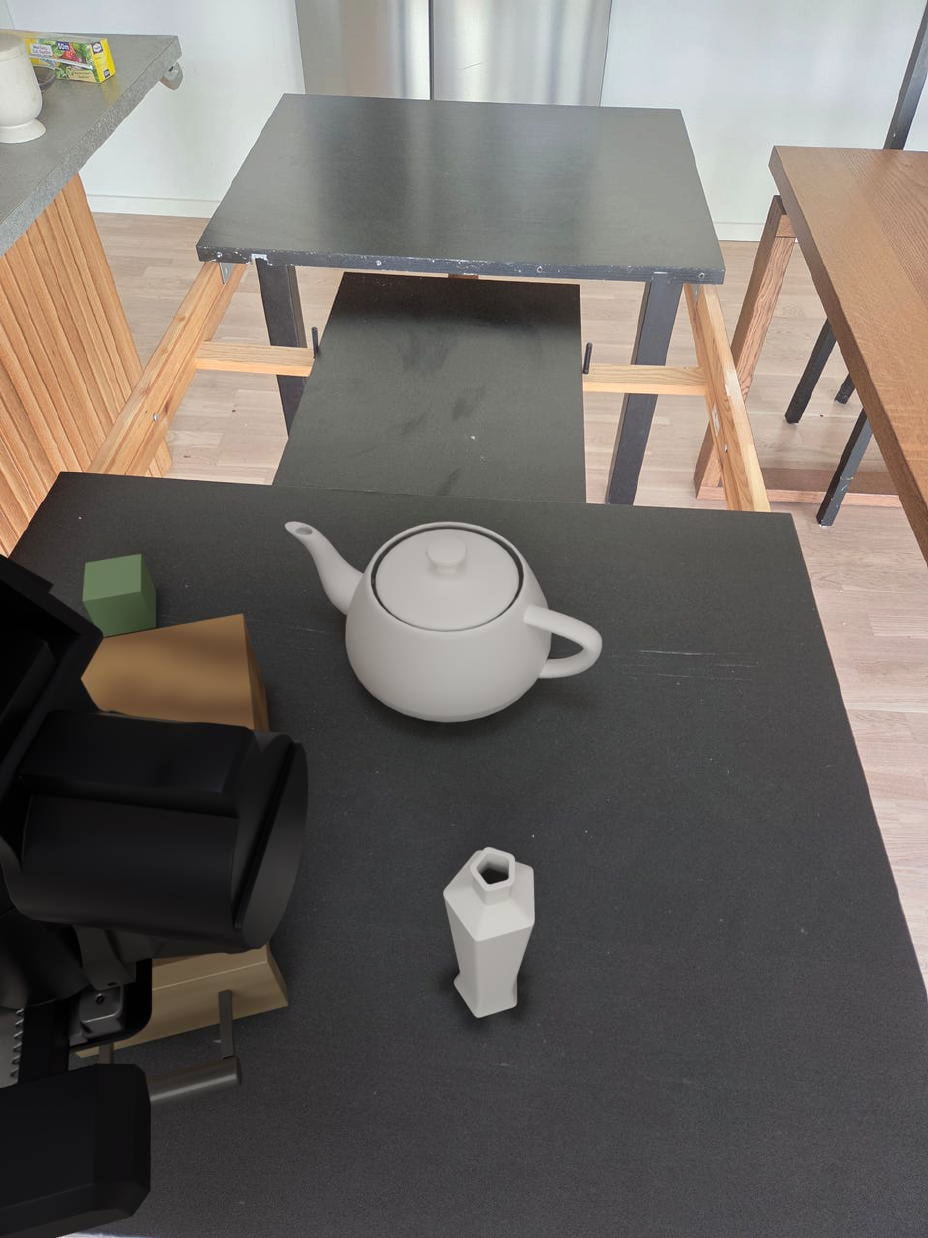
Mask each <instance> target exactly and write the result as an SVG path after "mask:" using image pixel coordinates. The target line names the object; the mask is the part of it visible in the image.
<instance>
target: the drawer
mask: <svg viewBox="0 0 928 1238" xmlns="http://www.w3.org/2000/svg"><path fill="white" fill-rule="evenodd" d="M270 946H271V945H270V940H269V941H268V943H266V944H265V945H264V946H263V947H262V948H261V949H254V950H249V951H247V952H244V953H239V954H227V953H214V954H204V955H193V956H183V957H172V958H162V959H152V1016H151V1019H150V1021H149V1023H148V1024H147V1026H146V1027H145V1028H144V1029H143V1030H141V1031H140V1032H139V1033H138V1034H136V1035H135V1036H133V1037H131V1038H129V1039H126V1040H123V1041H119V1042H115V1043H111V1044H107V1045H103V1046H99V1047H95V1048H91V1049H87V1050H83V1051H79V1052H75V1053H74V1054H76V1055H77V1056H78V1057H79V1058H80V1059H84V1058H88V1057H92V1056H96V1055H98V1058H97V1060H98V1061H97V1063H107V1064H115V1063H114V1060H115V1050H119V1049H124V1048H127V1047H131V1046H135V1045H140V1044H144V1043H147V1042H151V1041H155V1040H159V1039H163V1038H166V1037H170V1036H171V1037H172V1036H174V1035H175V1036H176V1035H179V1034H183V1033H186V1032H190V1031H194V1030H198V1029H202V1028H206V1027H209V1026H214V1025H218V1024H219V1035H220V1036H219V1037H220V1039H219V1040H220V1054H221V1055H220V1056H221V1059H218V1060H214V1061H210V1062H207V1063H206V1062H205V1063H202V1064H199V1065H196V1066H195V1065H194V1066H191V1067H188V1068H187V1067H186V1068H183V1069H180V1070H175V1071H172V1072H168V1073H164V1074H160V1075H156V1076H152V1077H149V1078H146V1081H147V1086H148V1091H149V1096H150V1101H151V1111H153V1110H158V1109H161V1108H164V1107H167V1106H168V1107H169V1106H171V1105H175V1104H180V1103H183V1102H187V1101H190V1100H195V1099H198V1098H202V1097H206V1096H209V1095H213V1094H217V1093H220V1092H224V1091H228V1090H232V1089H236V1088H239V1087H241V1086H242V1084H243V1069H242V1063H241V1060H240V1057H239V1055H236V1043H235V1029H234V1028H235V1026H234V1020H238V1019H242V1018H245V1017H249V1016H253V1015H257V1014H262V1013H265V1012H268V1011H272V1010H277V1009H281V1008H285V1007H288V1006H289V997H288V987H287V983H286V982H285V980H284V978H283V975H282V974H281V971H280V969H279V967H278V965H277V962H276V960H275V958H274V956H273V953H272V951H271V947H270Z"/></svg>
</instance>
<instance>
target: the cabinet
mask: <svg viewBox="0 0 928 1238" xmlns="http://www.w3.org/2000/svg"><path fill="white" fill-rule="evenodd" d="M81 680H82V681H83V683H84V685H85V687H86V689H87V691H88V692H89V694H90V696H91V698H92V700H93V701H94V702H95V703H96V705H97V706H98V707H99V708H100V709H101V710H103V711H107V710H115V711H119V712H122V713H125V714H129V715H132V716H140V717H149V718H158V719H167V720H175V721H184V722H211V723H220V724H229V725H238V726H246V727H248V728H249V729H254V730H263V731H271V729H270V722H269V721H270V720H269V713H268V711H269V709H268V703H267V694H266V688H265V684H264V681H263V676H262V673H261V670H260V667H259V663H258V660H257V657H256V654H255V650H254V646H253V644H252V639H251V636H250V633H249V629H248V625H247V623H246V619H245V615H244V614H243V613H238V614H233V615H232V614H231V615H227V616H221V617H215V618H210V619H204V620H198V621H193V622H188V623H181V624H177V625H171V626H165V627H160V628H152V629H147V630H141V631H136V632H130V633H124V634H119V635H113V636H108V637H104V638H103V640H102V642H101V644H100V645H99V647H98V649H97V651H96V653H95V654H94V656H93V658H92V660H91V662H90V663H89V665H88V667H87V669H86V671H85V672H84V674H83V676H82V678H81Z"/></svg>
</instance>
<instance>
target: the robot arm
mask: <svg viewBox="0 0 928 1238" xmlns="http://www.w3.org/2000/svg"><path fill="white" fill-rule="evenodd" d="M53 587H54V583H52V582H51V581H49V580H47V579H46V578H44V577H42V576H40V575H38V574H37V573H35V572H33V571H32V570H30V569H28V568H26V567H24V566H23V565H21V564H19V563H17V561H14V560H12V559H11V558H9V557H7V556H5V555H4V554H2V553H0V1238H62V1237H65V1236H69V1235H72V1234H76V1233H80V1232H82V1231H87V1230H90V1229H93V1228H97V1227H101V1226H104V1225H108V1224H111V1223H114V1222H118V1221H119V1222H120V1221H122V1220H126V1219H130V1218H132V1217H134V1216H135V1214H136V1212H137V1211H138V1210H139V1208H140V1207H141V1205H142V1204H143V1202H144V1201H145V1199H146V1198H147V1197H148V1196H149V1194H150V1193H151V1191H152V1157H151V1156H152V1110H151V1101H150V1096H149V1091H148V1086H147V1081H146V1079H147V1078H146V1072H145V1071H144V1070H143V1069H141V1067H140V1066H138V1064H136V1063H113V1064H107V1063H98V1062H97V1063H94V1064H93V1063H92V1064H89V1065H86V1066H82V1067H78V1068H74V1069H70V1070H69V1065H70V1054H71V1055H72V1054H76V1053H75V1052H79V1051H83V1050H87V1049H91V1048H95V1047H99V1046H103V1045H107V1044H111V1043H115V1042H119V1041H123V1040H126V1039H129V1038H131V1037H133V1036H135V1035H136V1034H138V1033H139V1032H140V1031H141V1030H143V1029H144V1028H145V1027H146V1026H147V1024H148V1023H149V1021H150V1019H151V1016H152V959H162V958H172V957H183V956H193V955H204V954H214V953H227V954H239V953H244V952H247V951H249V950H254V949H261V948H262V947H263V946H264V945H265V944H266V943H268V941H269V942H270V940H271V938H272V937H273V936H274V934H275V932H276V931H277V929H278V926H279V925H280V923H281V921H282V918H283V916H284V914H285V912H286V909H287V906H288V903H289V900H290V898H291V895H292V892H293V889H294V885H295V882H296V878H297V875H298V869H299V864H300V860H301V856H302V851H303V845H304V839H305V834H306V826H307V825H306V824H307V816H308V806H309V805H308V804H309V767H308V762H307V755H306V754H307V753H306V749H305V747H304V744H303V742H302V741H298V740H297V741H296V740H295V739H294V737H293V736H292V735H291V734H290V733H288V732H287V733H286V732H280V731H271V730H270V731H263V730H254V729H249V728H248V727H246V726H238V725H229V724H220V723H211V722H184V721H175V720H167V719H158V718H149V717H140V716H132V715H129V714H125V713H122V712H119V711H115V710H107V711H103V710H101V709H100V708H99V707H98V706H97V705H96V703H95V702H94V701H93V700H92V698H91V696H90V694H89V692H88V691H87V689H86V687H85V685H84V683H83V681H82V680H81V678H82V676H83V674H84V672H85V671H86V669H87V667H88V665H89V663H90V662H91V660H92V658H93V656H94V654H95V653H96V651H97V649H98V647H99V645H100V644H101V642H102V640H103V638H105V637H104V635H103V632H102V631H101V629H99V628H98V627H97V626H95V625H94V623H93V622H91V621H90V620H88V619H87V618H85V617H84V616H83V615H81V614H80V613H79V612H77V611H75V609H73V608H71V607H70V606H69V605H67V604H66V603H65V602H63V601H61V600H60V599H59V598H58V597H56V596H55V595H53V594H52V593H50V592H51V590H52V589H53Z"/></svg>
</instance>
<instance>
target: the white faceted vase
mask: <svg viewBox="0 0 928 1238" xmlns="http://www.w3.org/2000/svg"><path fill="white" fill-rule="evenodd" d="M534 881H535V875H534V869H533V868H532V867H531V865H527V864H524V863H521V862H519V861H516V858H515V856H514V855H513V854H512V853H509V852H506V851H503V850H500V849H497V848H494V847H491V846H487V847H484V849H482V850H481V849H479V850H476V851H475V852H474V853H473V854H472V856H470V858H469V859H468V860H467V862H466V863H464V865H463V866H462V868H460V870H459V871H458V872H457V874H456V875H455V876H454V877H453V878H452V880H451V881H450V882H449V884H448V885H447V886H446V887H445V888H444V890H443V891H442V893H443V895H442V896H443V900H444V905H445V909H446V914H447V918H448V923H449V928H450V932H451V936H452V942H453V946H454V951H455V956H456V959H457V965H458V969H459V973H458V974H457V975H456V977H455V978H454V980H453V985H454V986H455V988H456V990H457V992H458V993H459V994H460V996H461V998H462V999H463V1001H464V1003H466V1005H467V1007H468V1009H469V1010H470V1011H471V1013H472V1014H473V1016H474V1017H475V1018H477V1019H480V1018H483V1017H486V1016H489V1015H493V1014H497V1013H500V1012H502V1011H506V1010H509V1009H512V1008H513V1009H514V1007H516V1006H517V1004H518V974H519V971H520V967H521V965H522V962H523V959H524V956H525V952H526V949H527V946H528V943H529V940H530V937H531V933H532V931H533V929H534V925H535V921H536V920H535V919H536V917H535V916H536V915H535V914H536V913H535V882H534Z"/></svg>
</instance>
